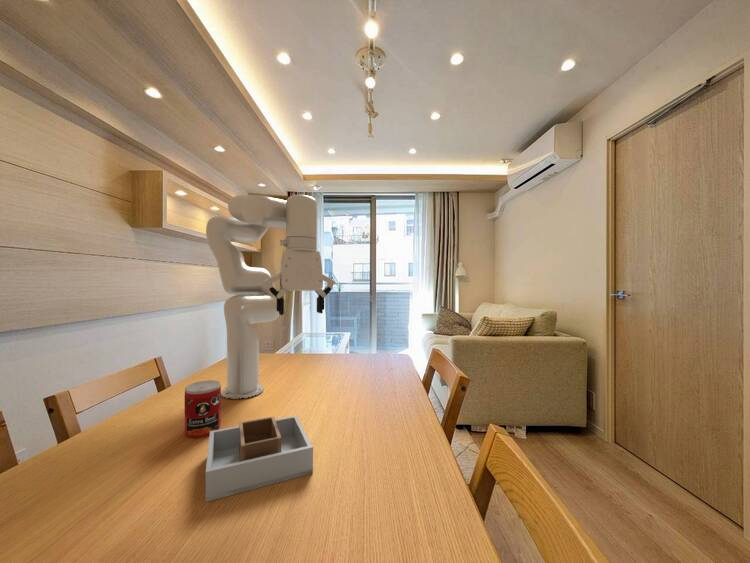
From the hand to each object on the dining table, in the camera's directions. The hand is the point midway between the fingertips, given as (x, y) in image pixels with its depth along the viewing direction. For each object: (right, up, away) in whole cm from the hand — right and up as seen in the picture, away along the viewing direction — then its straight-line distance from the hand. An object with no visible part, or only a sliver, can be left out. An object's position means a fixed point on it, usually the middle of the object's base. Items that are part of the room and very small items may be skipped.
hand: (300, 313), depth 78 cm
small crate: (-4, -28, -16) cm, 32 cm away
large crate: (-4, -28, -16) cm, 33 cm away
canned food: (-23, -28, -3) cm, 37 cm away
